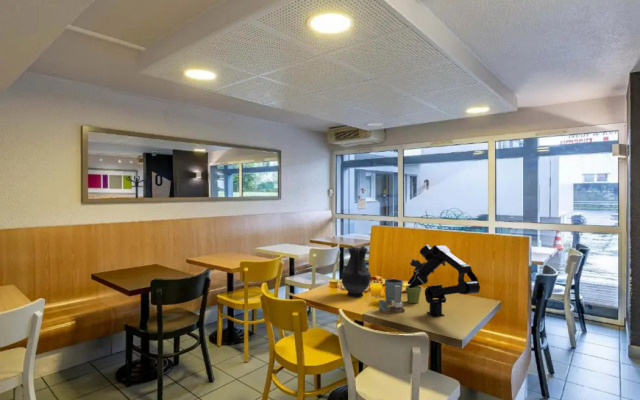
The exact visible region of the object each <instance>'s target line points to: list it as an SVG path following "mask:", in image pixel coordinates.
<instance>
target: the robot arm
mask: <svg viewBox="0 0 640 400" xmlns="http://www.w3.org/2000/svg"><path fill="white" fill-rule="evenodd" d="M419 254H420V255H421V256H422V257H423V258H424V259H425V261H426V262H425V261H423V262H421V261H420V260H419V259H415V258H411V261H410V263H409V264H410V266H411V267H414V268H413V271H412V275H411V277H410V278H409V280H408V281H407V284H408V285H409V288H413V287H416V286H423V285H426V284H427V283H428V282H429V279H428V278H429V276H430V275H431V274H433V273H434V272H435V271H436V270H437V269H438V268H439V266H441V265H442V266H443V267H446V263H447V264H448V265H449V266H451V267H453V268H454V269H455V270H456V271H457V272H458V277H457V284H456V285H450V286H444V287H443V284H434V285H430V286H429V285H427V287H426V288H425V290H424V297H425V302H427V304H429V305H428V306H429V308H428V309H429V311H426V314H428V315H430V316H432V317H442V316H445V314H444V313H443V303H444V304H446V301H447V298H446V296H449V295H454V294H455V295H456V294H460V295H474V294H479V293H480V291H481V286H480V283H479V282H480V281H479V280H478V277H477V276H476V274H475V273H474V272H473V270H472V267H471V266H470V264H468V263H465V262H464V261H463V260H461V259H460V258H458V257H457V256H455V255H454V254H453V253H451V250H450V249H449V247H447V245H445V244H435V245H433V246H432V247H431V246H430V245H429V244H424V246H422V248H420V250H419ZM465 274H466V275H467V277H468V278H469V280H465V279H464V278H465Z"/></svg>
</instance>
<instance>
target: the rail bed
mask: <svg viewBox="0 0 640 400" xmlns="http://www.w3.org/2000/svg"><path fill="white" fill-rule="evenodd" d="M378 301H379V303H378V310H379V311H380V312H381V313H382V314H393V313H394V314H395V313H405V308H404V306H403V307H394V306H393V305H392V306H391V305H390V306H388V302H386V299H379V300H378Z"/></svg>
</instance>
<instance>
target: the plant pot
mask: <svg viewBox="0 0 640 400" xmlns="http://www.w3.org/2000/svg"><path fill="white" fill-rule="evenodd" d="M409 285H410V284H408V285H405V286H404V287H405V291H406V296H407V297H406V298H407V302H408V303H410V304H418V303H420V296H421V292H422V288H423V287H422V286H421V285H419V286H416V287H413V288H409Z"/></svg>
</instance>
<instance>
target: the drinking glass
mask: <svg viewBox="0 0 640 400" xmlns="http://www.w3.org/2000/svg"><path fill="white" fill-rule="evenodd" d="M403 283H404V280H401V279H399V278H386V279H384V289H385V301H386V302H387V304H388V303H389V304H392V301H395V285H399V286H401V290H400V302H402V294H403V293H402V292H403Z"/></svg>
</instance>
